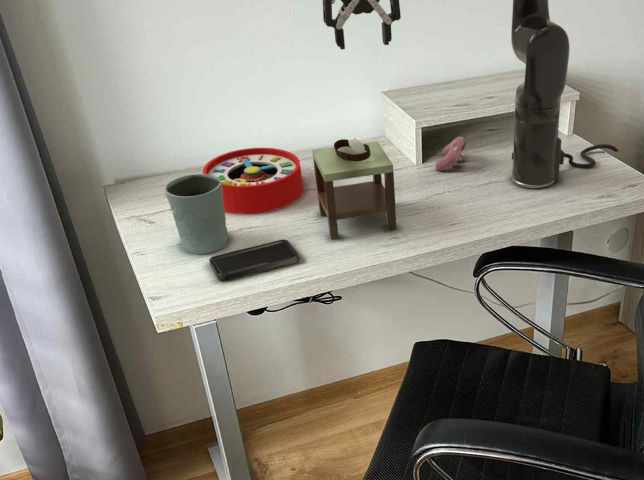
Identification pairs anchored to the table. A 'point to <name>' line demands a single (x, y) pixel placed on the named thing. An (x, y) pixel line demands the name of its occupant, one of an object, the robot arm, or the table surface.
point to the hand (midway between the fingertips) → (364, 46)
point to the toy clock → (257, 179)
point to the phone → (253, 260)
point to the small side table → (354, 186)
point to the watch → (356, 146)
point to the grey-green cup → (198, 212)
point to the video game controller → (451, 154)
